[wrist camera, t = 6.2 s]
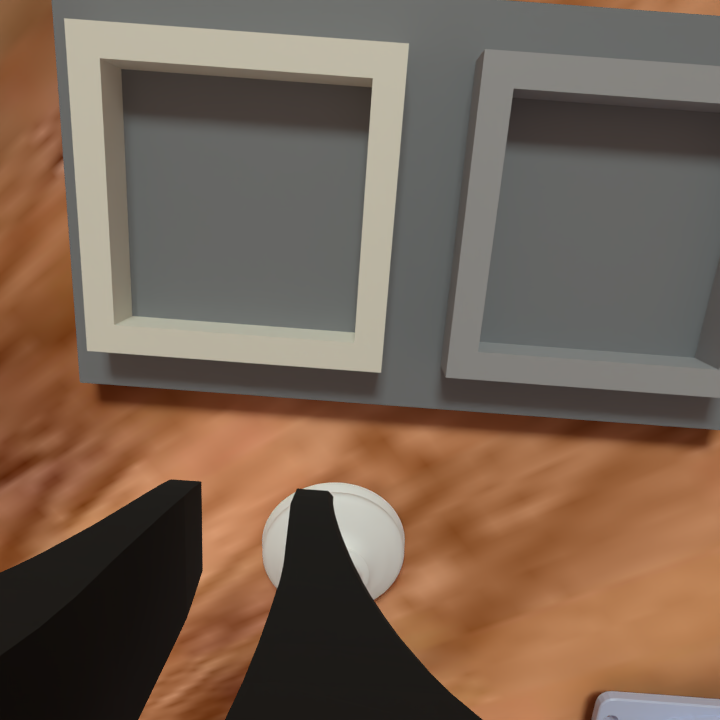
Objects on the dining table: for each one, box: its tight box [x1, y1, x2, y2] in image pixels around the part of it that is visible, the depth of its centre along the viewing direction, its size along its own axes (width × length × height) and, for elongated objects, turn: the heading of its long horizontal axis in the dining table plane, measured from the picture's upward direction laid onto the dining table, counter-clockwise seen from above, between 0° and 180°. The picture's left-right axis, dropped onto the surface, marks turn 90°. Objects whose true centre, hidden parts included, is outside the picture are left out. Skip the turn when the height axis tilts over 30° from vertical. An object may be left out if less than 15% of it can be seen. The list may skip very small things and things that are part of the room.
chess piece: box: [262, 482, 405, 600], centre depth 15 cm, size 5×5×10 cm
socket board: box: [52, 0, 720, 430], centre depth 15 cm, size 11×20×2 cm, turn 86°
